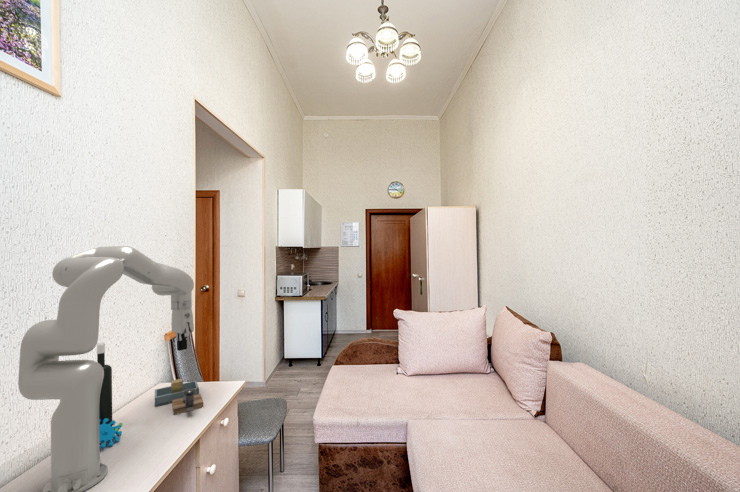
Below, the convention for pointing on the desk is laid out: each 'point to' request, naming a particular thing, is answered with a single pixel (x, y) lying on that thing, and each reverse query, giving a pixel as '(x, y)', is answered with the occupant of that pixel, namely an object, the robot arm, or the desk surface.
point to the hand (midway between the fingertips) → (182, 349)
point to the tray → (165, 396)
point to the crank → (189, 398)
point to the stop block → (176, 386)
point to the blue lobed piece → (109, 433)
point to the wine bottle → (105, 387)
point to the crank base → (181, 406)
